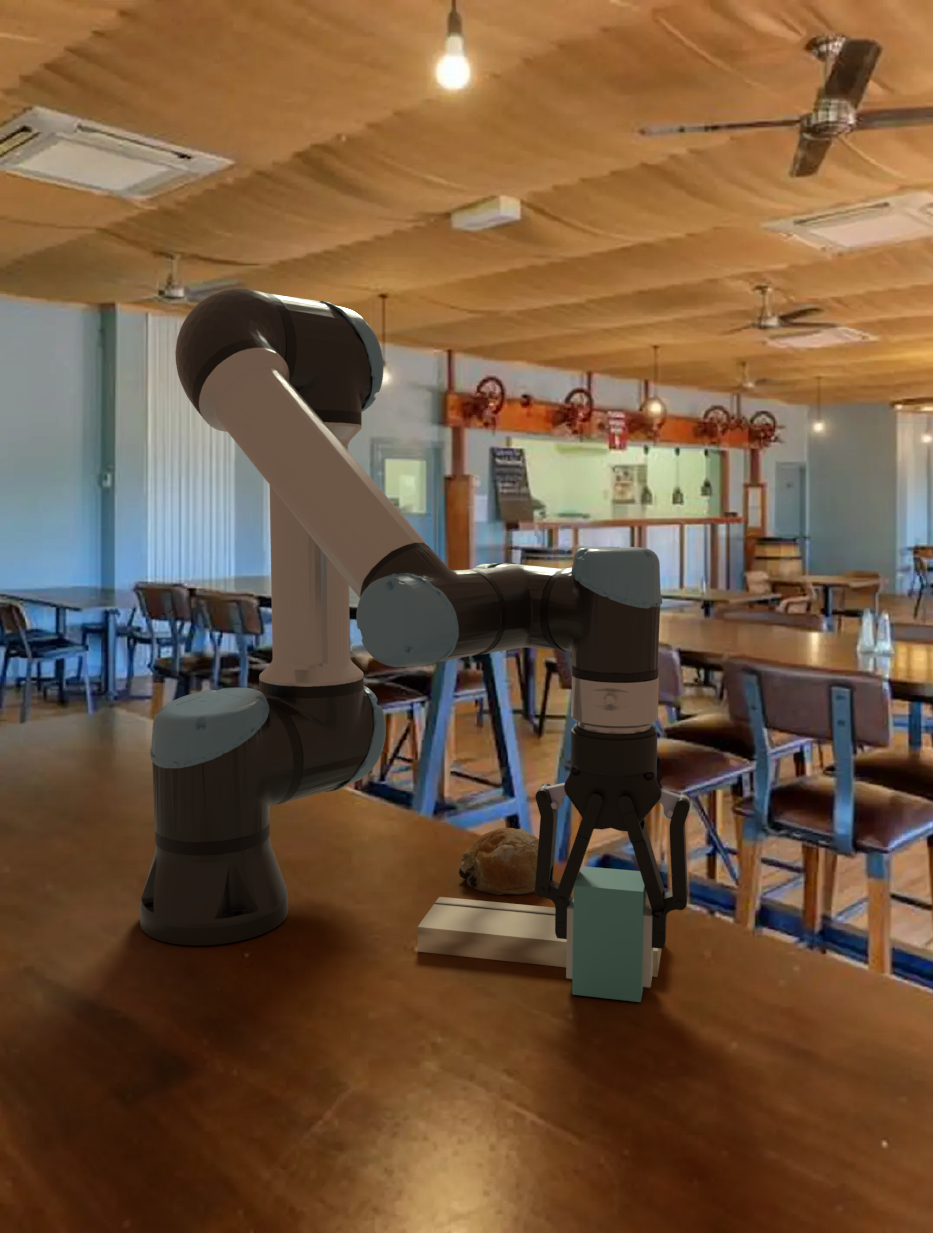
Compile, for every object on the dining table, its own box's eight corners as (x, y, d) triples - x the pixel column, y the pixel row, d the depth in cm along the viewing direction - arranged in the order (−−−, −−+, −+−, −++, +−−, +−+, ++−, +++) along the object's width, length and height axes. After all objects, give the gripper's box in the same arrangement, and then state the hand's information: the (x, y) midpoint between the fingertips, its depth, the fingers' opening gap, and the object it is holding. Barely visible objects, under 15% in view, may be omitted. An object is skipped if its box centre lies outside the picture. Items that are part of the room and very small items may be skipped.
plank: (417, 951, 105) (417, 925, 105) (439, 919, 113) (439, 895, 112) (657, 976, 99) (657, 949, 99) (662, 941, 107) (663, 916, 107)
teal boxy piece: (572, 994, 96) (573, 885, 94) (591, 935, 108) (592, 838, 107) (640, 1002, 94) (643, 891, 93) (651, 941, 107) (654, 843, 105)
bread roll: (526, 931, 119) (558, 870, 117) (444, 886, 120) (475, 825, 119) (538, 898, 129) (568, 841, 127) (462, 857, 130) (490, 800, 128)
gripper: (498, 727, 93) (497, 982, 96) (725, 739, 89) (717, 1007, 91) (516, 709, 100) (514, 948, 103) (726, 720, 96) (718, 969, 99)
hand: (609, 975), depth 97 cm, fingers closed on teal boxy piece, 6 cm apart
